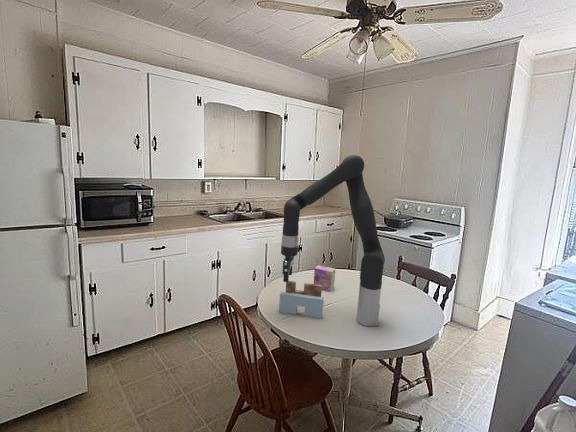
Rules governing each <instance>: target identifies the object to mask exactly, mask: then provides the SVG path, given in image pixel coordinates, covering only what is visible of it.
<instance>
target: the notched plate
mask: <svg viewBox="0 0 576 432" xmlns="http://www.w3.org/2000/svg"><path fill="white" fill-rule="evenodd" d="M324 301H325V300H324V297H322V296H321V297H316V296H309V295H301V294H294V293H287V292H286V291H281V292H280V293H279V303H278V304H279V305H278V306H279V309H278V313H284V314H290V315H297V313H298V312H297V311H298V306H299V307H304V317H311V318H317V319H322V318H323V311H324V309H323V308H324Z"/></svg>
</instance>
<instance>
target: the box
mask: <svg viewBox="0 0 576 432" xmlns="http://www.w3.org/2000/svg"><path fill="white" fill-rule="evenodd" d="M313 269H314V271H313V272H314V273H313V284H318V285H322V291H326V292H330V293H332V291H333V290H334V289H335V281H336V280H335V279H336V278H335V277H336V268H334V267H333V268H332V267H327V266H324V265H319V264H317V265H316V266H315V267H314V268H313Z"/></svg>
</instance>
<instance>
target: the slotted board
mask: <svg viewBox="0 0 576 432" xmlns="http://www.w3.org/2000/svg"><path fill="white" fill-rule="evenodd" d="M296 287H297V282H296V281H293V280H288V282H285V292H287V293H294V294H301V295H309V296H316V297H322V291H323V290H322V285H318V284H314V283H309V282H305V283H304V285H303V290H299V289H296Z"/></svg>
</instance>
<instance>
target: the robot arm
mask: <svg viewBox="0 0 576 432" xmlns="http://www.w3.org/2000/svg"><path fill="white" fill-rule="evenodd" d="M364 169H365V161H364V159H363V158H362V157H361V156H360V155H357V154H350V155H348V156H346V157H345V158H344V159H343V160H342V162H341V163H340V164H339V165H338V166H337V167H336V168H334V169H333V170H332V171H331V172H330V173H328V174H327V175H324V176H323V177H322V178H320V179H319V180H317V181H314V182H313V183H312V184H311V185H310V186H308V187H306V188H305V189H303V190H302V191H301V192H300V193H298V194H296V195H293V197H291V198H289V199H288V200H287V201H286V202H285V203H284V206H283V226H282V236H281V242H280V243H281V247H280V248H281V249H280V254H281V255H282V256H284V258H283V261H282V273H281V274H283V283H286V282H288V281H290V280H289V279H290V278H289V277H290V276H292V274H293V267H294V264H295V257H296V256H297V255H298V252H299V229H300V227H299V226H300V225H299V222H300V214H301V210H303V209H304V208H306V207H307V206H311V205H313V204H314V203H315V202H317V201H319V200H320V199H322V198H323V197H324V196H325V195H327V194H328V193H329V192H331V191H332V190H333V189H335V188H336V187H337V186H339V185H341V184H342V183H344V182H345V184H346V187H347V191H348V199H349V200H348V201H349V205H350V213H351V216H352V220H353V224H354V226H355V228H356V230H357V232H358V235H359V237H360V239H361V244H362V248H363V249H362V250H363V257H362V259H361V263H360V272H359V274H360V275H359V289H358V301H357V306H356V307H357V308H356V322H357V323H358V324H360V325H362V326H365V327H378V323H379V317H380V316H379V315H380V308H381V306H380V305H381V304H380V300H381V292H382V284H383V273H384V267H385V265H384V264H385V261H386V259H385V255H384V251H383V249H382V246H381V242H380V239H379V235H378V229H377V222H376V215H375V212H374V207H373V204H372V200H371V198H370V196H369V194H368V190H367V189H366V185H365V182H364V176H363V174H364V173H363V172H364Z"/></svg>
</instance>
